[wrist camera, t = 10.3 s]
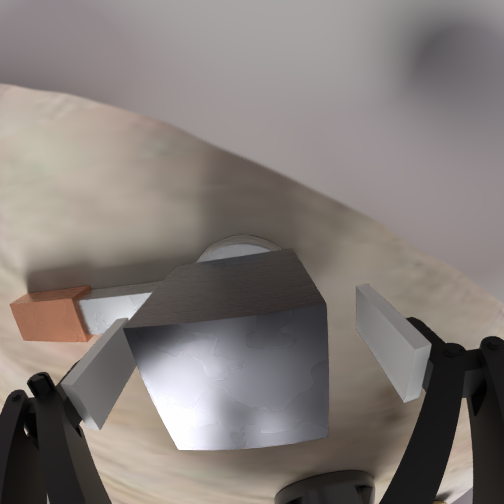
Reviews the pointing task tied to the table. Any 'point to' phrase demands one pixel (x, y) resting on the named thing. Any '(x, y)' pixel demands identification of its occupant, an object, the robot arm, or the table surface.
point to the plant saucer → (439, 502)
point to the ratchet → (105, 300)
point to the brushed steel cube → (236, 352)
